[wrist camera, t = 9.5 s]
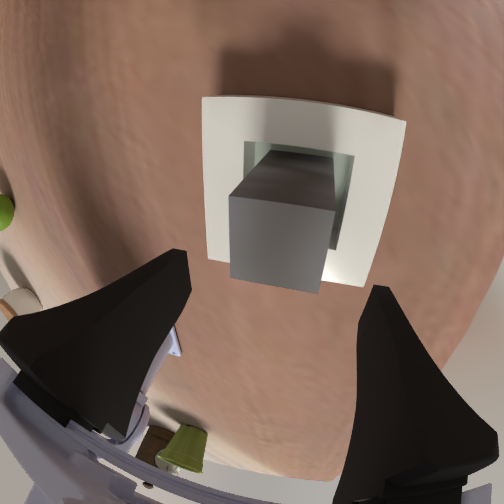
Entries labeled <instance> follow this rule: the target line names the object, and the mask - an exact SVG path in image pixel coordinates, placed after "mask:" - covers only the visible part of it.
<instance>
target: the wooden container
mask: <svg viewBox="0 0 504 504" xmlns="http://www.w3.org/2000/svg"><path fill="white" fill-rule="evenodd" d="M174 435H175V434H174V433H172V432H170V431H168V430H165V429H163V428H160V427H157V426H150V427H149V429H148V431H147V433H146V435H145V437H144V439H143V441H142V443H141V445H140V448H139V450H138V452H137V454H136V457H135V458H137V459H139V460H141V461H143V462H145V463H147V464H150V465H152V466H154V467H156V468H159V469H161V470H163V471H166V472H168V473H170V474H173V475H175V476H178V474H179V472H180V469H181V467H178V466H175V465H173V464H171V463H169V462H166V461H164V460H162V459H160V458H159V457H157V455H160V454H161V452H162V451H163V450H164V449H165V448H166V447H167V445H168V444H169V442H170V441H171V439H172V438H173V436H174ZM143 485H144V486H145V487H146V488H148V489H152V488H153V485H152V484H150V483H148V482H146V481H145V482H143Z"/></svg>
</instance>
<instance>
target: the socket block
mask: <svg viewBox="0 0 504 504" xmlns="http://www.w3.org/2000/svg"><path fill="white" fill-rule="evenodd" d="M405 128H406V121H404V120H402V119H400V118H398V117H395V116H392V115H388V114H384V113H380V112H376V111H371V110H367V109H362V108H357V107H352V106H346V105H340V104H334V103H328V102H321V101H314V100H306V99H297V98H286V97H274V96H257V95H215V96H207V97H202V147H203V178H204V201H205V219H206V236H207V250H208V259H213V260H218V261H223V262H228V263H230V247H229V200H228V196H229V195H230V194H231V193H232V191H233V190H234V189H235V188H236V187H237V186H238V185H239V183H240V182H241V181H242V180H243V179H244V178H245V177H246V176H247V175H248V173H249V172H250V171H251V170H252V169H253V168H254V167H255V166H256V165H257V164H258V163H259V161H260V160H261V159H262V158H263V157H264V156H265V155H266V154H267V153H268V152H269V151H270V150H278V151H287V152H296V153H303V154H311V155H318V156H324V157H331V158H333V161H334V181H335V216H334V222H333V227H332V232H331V237H330V242H329V247H328V252H327V256H326V261H325V266H324V270H323V275H322V279H321V280H325V281H330V282H336V283H342V284H347V285H353V286H359V287H364V284H365V281H366V279H367V276H368V273H369V270H370V267H371V264H372V261H373V258H374V255H375V252H376V249H377V246H378V243H379V239H380V236H381V233H382V229H383V226H384V223H385V219H386V215H387V212H388V208H389V204H390V200H391V196H392V192H393V188H394V184H395V180H396V175H397V171H398V166H399V161H400V156H401V151H402V146H403V140H404V135H405Z"/></svg>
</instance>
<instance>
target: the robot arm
mask: <svg viewBox="0 0 504 504" xmlns="http://www.w3.org/2000/svg"><path fill="white" fill-rule="evenodd" d="M191 291H192V288H191V281H190V274H189V267H188V259H187V252H186V251H184V250H178V249H171V250H169V251H167V252H165V253H163V254H162V255H160V256H158V257H156V258H155V259H153V260H151V261H150V262H148V263H146V264H145V265H143V266H141V267H140V268H138V269H136V270H135V271H133V272H131V273H129V274H128V275H126V276H124V277H122V278H120V279H119V280H117V281H115V282H113V283H111V284H110V285H108V286H106V287H104V288H102V289H100V290H98V291H95V292H93V293H91V294H89V295H87V296H84V297H82V298H79V299H76V300H74V301H71V302H69V303H66V304H63V305H60V306H57V307H54V308H51V309H47V310H43V311H39V312H35V313H30V314H25V315H20V316H14V317H13V318H11V320H10V321H9V322H8V323H7V324H6V325H5V326H4V328H3V329H2V330H1V331H0V345H1V347H2V348H3V349H4V350H5V352H6V353H7V354H8V355H9V356H10V358H11V359H12V360H13V361H14V362H15V364H16V365H17V366H18V367H19V368H20V369H21V371H20V372H19V374H17V373H16V371H15V370H14V369H13V368H12V367H10V365H8V363H7V362H6V361H5V360H4V359H3V358H0V435H1V437H2V439H3V440H4V442H5V443H6V445H7V446H8V448H9V449H10V450H11V452H12V453H13V455H14V457H15V458H16V459H17V461H18V462H19V463H20V465H21V466H22V468H23V469H24V470H25V471H26V473H27V474H28V475H29V477H30V478H31V479H32V480H33V481H34V485H33V487H32V489H31V491H30V493H29V495H28V497H27V499H26V501H25V503H24V504H162V503H160V502H158V501H155V500H153V499H151V498H148V497H146V496H144V495H142V494H139V493H137V492H135V491H134V490H135V489H136V486H137V483H136V482H134V481H132V480H131V479H129V478H127V477H125V476H124V475H122V474H120V473H118V472H116V471H114V470H113V469H111V468H109V467H107V466H105V465H103V464H101V463H99V462H98V460H102V459H105V460H106V461H108V462H110V463H112V464H113V465H115V466H117V467H118V468H120V469H122V470H124V471H126V472H128V473H129V474H131V475H133V476H135V477H137V478H139V479H141V480H144V481H146V482H148V483H150V484H152V485H154V486H157V487H159V488H161V489H163V490H166V491H168V492H171V493H173V494H176V495H178V496H181V497H184V498H186V499H189V500H192V501H195V502H198V503H201V504H278V503H273V502H266V501H262V500H256V499H252V498H247V497H243V496H239V495H234V494H231V493H227V492H223V491H219V490H216V489H213V488H210V487H206V486H203V485H200V484H197V483H194V482H192V481H189V480H186V479H183V478H180V477H178V476H175V475H173V474H170V473H168V472H166V471H163V470H161V469H159V468H156V467H154V466H152V465H150V464H147V463H145V462H143V461H141V460H139V459H137V458H135V457H133V456H131V455H129V454H128V452H129V450H130V449H131V447H132V446H133V445H134V444H135V443H136V442H137V441H138V439H139V438H140V437H141V435H142V434H143V432H144V430H145V429H146V427H147V424H148V422H149V418H150V412H149V407H148V405H146V404H145V403H146V401H147V399H148V398H147V397H146V396H145V394H146V392H147V391H148V389H149V387H150V385H151V383H152V382H153V380H154V378H155V376H156V374H157V373H158V371H159V369H160V367H161V365H162V364H163V362H164V360H165V358H166V356H167V355H168V353H170V354H173V355H176V356H181V354H182V353H181V350H180V347H179V343H178V339H177V336H176V332H175V328H174V324H175V323H176V321H177V319H178V318H179V316H180V314H181V313H182V311H183V309H184V307H185V305H186V302H187V300H188V298H189V295H190V293H191ZM356 347H357V401H356V411H355V418H354V424H353V430H352V435H351V440H350V444H349V449H348V453H347V457H346V461H345V465H344V468H343V472H342V475H341V478H340V481H339V484H338V487H337V490H336V492H335V495H334V498H333V503H332V504H491V489H492V484H490V483H489V484H486V485H484V486H481V487H477V488H474V489H471V490H468V491H465V492H462V486H464V485H466V484H467V479H468V475H470V474H472V473H474V472H477V471H478V470H481V469H483V468H485V467H487V466H489V465H490V464H492V463H493V462H495V461H496V460H497V459H498V457H499V447H498V435H497V432H496V431H495V430H494V429H493V428H492V427H490V426H489V425H488V424H487V423H486V422H485V421H484V420H483V419H481V417H479V415H478V414H476V412H475V411H474V410H473V409H472V408H471V407H470V406H469V405H468V404H467V403H466V402H465V401H464V400H463V399H462V397H461V396H460V395H459V394H458V393H457V391H456V390H455V389H454V388H453V386H452V385H451V384H450V383H449V382H448V380H447V379H446V378H445V376H444V375H443V374H442V372H441V371H440V369H439V368H438V367H437V365H436V364H435V363H434V361H433V360H432V358H431V357H430V355H429V354H428V352H427V351H426V349H425V347H424V346H423V344H422V343H421V341H420V340H419V338H418V336H417V335H416V333H415V331H414V330H413V328H412V326H411V324H410V323H409V321H408V319H407V318H406V316H405V314H404V312H403V311H402V309H401V307H400V305H399V304H398V302H397V300H396V298H395V297H394V295H393V293H392V291H391V290H390V288H389V287H386V286H380V285H373V288H372V291H371V293H370V296H369V298H368V301H367V303H366V306H365V308H364V310H363V313H362V315H361V317H360V320H359V322H358V333H357V346H356ZM93 430H94V431H96V432H98V433H99V434H101V433H103V434H105V435H106V436H108V437H109V438H111V439H106V438H104V437H102V436H100V435H99V434H97V433H95V432H94V431H93Z"/></svg>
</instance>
